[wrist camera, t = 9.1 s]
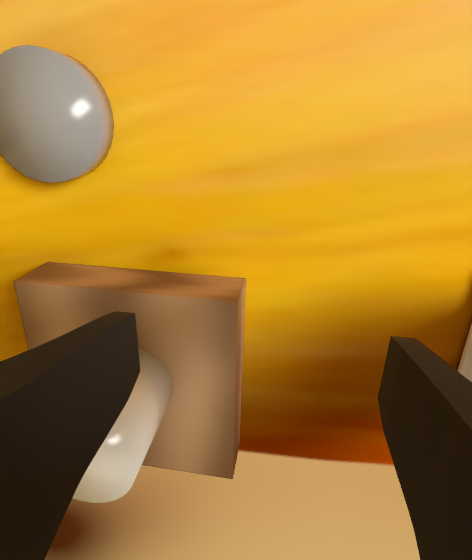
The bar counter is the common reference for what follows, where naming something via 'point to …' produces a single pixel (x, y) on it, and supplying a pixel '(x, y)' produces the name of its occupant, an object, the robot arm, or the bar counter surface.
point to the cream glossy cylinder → (128, 435)
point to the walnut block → (160, 347)
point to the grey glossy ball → (52, 115)
